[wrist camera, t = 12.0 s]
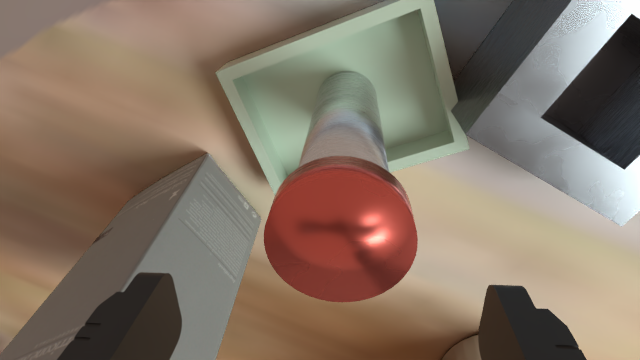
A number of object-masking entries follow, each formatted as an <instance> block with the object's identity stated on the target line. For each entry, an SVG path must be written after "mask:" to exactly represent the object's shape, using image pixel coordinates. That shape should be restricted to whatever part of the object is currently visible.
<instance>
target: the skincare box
mask: <svg viewBox="0 0 640 360" xmlns="http://www.w3.org/2000/svg"><path fill="white" fill-rule="evenodd" d="M260 222H261V217H260V216H259V215H258V214H257V213H256V211H255V210H254V209H253V207H252V206H251V205H250V204H249V203H248V201H247V200H246V199H245V198H244V197H243V196H242V194H241V193H240V192H239V191H238V190H237V188H236V187H235V186H234V185H233V184H232V182H231V181H230V180H229V178H228V177H227V176H226V175H225V174H224V172H223V171H222V170H221V169H220V168H219V166H218V165H217V164H216V162H215V161H214V159H213V158H212V157H211V155H210V154H208V153H206V154H205V155H203V156H202V157H200V158H198V159H196V160H194V161H192V162H190V163H188V164H187V165H185V166H183V167H181V168H179V169H178V170H176V171H174V172H173V173H171V174H169V175H167V176H166V177H164V178H162V179H161V180H159V181H157V182H156V183H154V184H153V185H151V186H149V187H148V188H146V189H145V190H143V191H142V192H140V193H139V194H137V195H136V196H135V197H133V198H132V199H130V200H129V201H128V202H127V203H126V204H125V206H124V207H123V208H122V209H121V210H120V211H119V213H118V214H117V215H116V216H115V217H114V219H113V220H112V221H111V222H110V224H109V225H108V226H107V227H106V228H105V230H104V231H103V232H102V233H101V234H100V236H99V237H98V238H97V239H96V240H95V241H94V243H93V244H92V245H91V246H90V248H89V249H88V250H87V251H86V252H85V254H84V255H83V256H82V257H81V258H80V260H79V261H78V262H77V263H76V264H75V266H74V267H73V268H72V269H71V270H70V271H69V273H68V274H67V275H66V276H65V277H64V279H63V280H62V281H61V282H60V283H59V285H58V286H57V287H56V288H55V289H54V291H53V292H52V293H51V294H50V295H49V297H48V298H47V299H46V300H45V301H44V303H43V304H42V305H41V306H40V307H39V309H38V310H37V311H36V312H35V313H34V315H33V316H32V317H31V318H30V319H29V321H28V322H27V323H26V324H25V325H24V327H23V328H22V329H21V330H20V331H19V333H18V334H17V335H16V336H15V337H14V339H13V340H12V341H11V342H10V343H9V345H8V346H7V347H6V348H5V349H4V350H3V352H2V353H1V354H0V360H57V359H58V357H59V356H60V355H61V353H62V352H63V351H64V350H65V348H66V347H67V346H68V344H69V343H70V342H71V341H73V340H74V337H75V335H76V334H77V333H78V331H79V330H80V329H81V327H82V326H85V322H86V321H87V320H88V318H89V317H90V316H91V314H92V313H93V312H94V310H95V309H96V308H97V307H98V306H99V305H100V304H101V303H103V302H104V301H105V300H107V299H108V298H109V297H111V296H112V295H113V294H115V293H116V292H124V291H125V290H126V288H127V287H128V286H129V284H130V283H131V281H132V280H133V279H134V277H135V276H136V275H137V274H138V273H140V272H149V273H169V274H171V276H172V278H173V281H174V285H175V290H176V294H177V298H178V303H179V307H180V312H181V316H182V329H181V335H180V338H179V341H178V343H177V345H176V347H175V350H174V352H173V354H172V356H171V358H170V360H216V357H217V354H218V351H219V348H220V345H221V342H222V339H223V336H224V332H225V329H226V326H227V323H228V320H229V317H230V314H231V311H232V308H233V305H234V301H235V298H236V295H237V292H238V289H239V286H240V283H241V280H242V277H243V274H244V271H245V268H246V265H247V262H248V259H249V256H250V252H251V249H252V246H253V243H254V240H255V237H256V234H257V231H258V228H259V225H260Z"/></svg>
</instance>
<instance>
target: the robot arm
mask: <svg viewBox="0 0 640 360" xmlns="http://www.w3.org/2000/svg"><path fill="white" fill-rule="evenodd" d="M181 329H182V316H181V312H180V307H179V303H178V298H177V294H176V290H175V285H174V281H173V278H172V276H171V274H169V273H149V272H140V273H138V274H137V275H136V276H135V277H134V279H133V280H132V281H131V283H130V284H129V286H128V287H127V288H126V290H125V291H124V292H116V293H115V294H113V295H112V296H111V297H109V298H108V299H107V300H105V301H104V302H103V303H101V304H100V305H99V306H98V307H97V308H96V309H95V310H94V312H93V313H92V314H91V316H90V317H89V318H88V320H87V321H86V322H85V326H82V327H81V329H80V330H79V331H78V333H77V334H76V335H75V337H74V340H73V341H71V342H70V343H69V344H68V346H67V347H66V348H65V350H64V351H63V352H62V353H61V355H60V356H59V357H58V359H57V360H170V358H171V356H172V354H173V352H174V350H175V347H176V345H177V343H178V341H179V338H180V335H181ZM442 360H587V359H586V358H585V356H584V354H583V353H582V351H581V350H579V348H578V344H577V342H576V341H575V339H574V337H573V336H572V334H571V332H570V331H569V329H568V327H567V326H566V325H565V324H564V323H563V322H562V321H561V320H560V319H558V318H557V317H556V316H555V315H554V314H553V313H552V312H551V311H550V310H548V309H536V308H535V306H534V304H533V302H532V300H531V298H530V297H529V295H528V293H527V291H526V289H525V288H524V287H523V286H508V285H489V286H488V288H487V292H486V296H485V301H484V306H483V311H482V316H481V321H480V326H479V333H478V335H475V336H472V337H470V338H467V339H465V340H462V341H461V342H459V343H458V344H456V345H455V346H453V347H452V348H451V349H450V350H449V351H448V352H447V353H446V354H445V356H444V357H443V359H442Z"/></svg>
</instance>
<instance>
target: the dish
mask: <svg viewBox="0 0 640 360" xmlns="http://www.w3.org/2000/svg"><path fill="white" fill-rule="evenodd" d="M341 71H354V72H358V73H360V74H362V75H364V76H365V77H367V78H368V79H369V80H370V82H371V83H372V84H373V86H374V88H375V90H376V94H377V100H378V106H379V113H380V119H381V125H382V131H383V137H384V143H385V149H386V156H387V162H388V168H389V173H390V172H394V171H397V170H400V169H404V168H407V167H410V166H414V165H417V164H421V163H424V162H427V161H431V160H434V159H438V158H441V157H444V156H448V155H451V154H455V153H458V152H461V151H465V150H468V149H469V145H468V141H467V136H466V135H465V133H464V131H463V130H462V128H461V127H460V125H459V123H458V122H457V120H456V118H455V117H454V115H453V114H452V112H451V110H452V109H453V107H454V106H455V105H456V103H457V102H458V99H457V95H456V91H455V86H454V82H453V78H452V74H451V70H450V65H449V61H448V57H447V53H446V49H445V45H444V40H443V36H442V32H441V28H440V24H439V20H438V15H437V11H436V7H435V3H434V0H385V1H383V2H380V3H378V4H375V5H372V6H370V7H367V8H365V9H362V10H360V11H357V12H355V13H352V14H350V15H347V16H344V17H342V18H339V19H337V20H334V21H332V22H329V23H327V24H324V25H322V26H319V27H316V28H314V29H311V30H309V31H306V32H304V33H301V34H299V35H296V36H294V37H291V38H288V39H286V40H283V41H281V42H278V43H276V44H273V45H271V46H268V47H265V48H263V49H260V50H258V51H255V52H253V53H250V54H248V55H245V56H243V57H240V58H237V59H235V60H232V61H230V62H227V63H226V64H225V65H224V66H223V67H221V68H220V69H219V70H218V71H216V72H215V73H216V75H217V77H218V79H219V81H220V83H221V85H222V87H223V89H224V91H225V94H226V96H227V98H228V100H229V102H230V104H231V106H232V108H233V110H234V112H235V114H236V116H237V118H238V120H239V122H240V124H241V126H242V129H243V131H244V133H245V135H246V137H247V139H248V141H249V143H250V145H251V147H252V149H253V151H254V153H255V155H256V157H257V159H258V161H259V164H260V166H261V168H262V170H263V172H264V174H265V176H266V178H267V180H268V182H269V184H270V186H271V188H272V190H273V192H274V194H275V195H276V193H277V191H278V189H279V187H280V185H281V184H282V183H283V181H284V180H285V179H286V178H287V177H288V176H289V175H290V174H291V173H292V172H293V171H295V170H296V169H297V168H298V166H299V163H300V159H301V155H302V151H303V148H304V144H305V140H306V136H307V133H308V129H309V125H310V121H311V118H312V114H313V110H314V106H315V103H316V99H317V95H318V92H319V89H320V87H321V85H322V83H323V82H324V81H325V80H326V79H327V78H328V77H329V76H331V75H333V74H335V73H337V72H341Z"/></svg>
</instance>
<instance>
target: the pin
mask: <svg viewBox="0 0 640 360" xmlns="http://www.w3.org/2000/svg"><path fill="white" fill-rule="evenodd" d="M264 245H265V251H266V254H267V257H268V259H269V261H270V263H271V265H272V267H273V268H274V270H275V271H276V272H277V274H278V275H279V276H280V277H281V278H282V279H283V280H284V281H285V282H287V283H288V284H289V285H290V286H292V287H293V288H295V289H296V290H298V291H300V292H302V293H304V294H306V295H309V296H311V297H314V298H317V299H321V300H326V301H332V302H353V301H360V300H365V299H369V298H372V297H375V296H377V295H379V294H382V293H384V292H385V291H387V290H389V289H390V288H392V287H393V286H394V285H396V284H397V283H398V282H399V281H400V280H401V279H402V278H403V277H404V276H405V275H406V273H407V272H408V271H409V269H410V267H411V265H412V264H413V261H414V258H415V256H416V251H417V231H416V227H415V222H414V218H413V213H412V209H411V205H410V202H409V198H408V196H407V194H406V192H405V190H404V188H403V187H402V185H401V184H400V183H399V181H398V180H397V179H396V178H395V177H394V176H393V175H392V174H391V173H389V168H388V162H387V156H386V149H385V143H384V137H383V131H382V125H381V119H380V113H379V106H378V100H377V94H376V90H375V88H374V86H373V84H372V83H371V82H370V80H369V79H368V78H367V77H365V76H364V75H362V74H360V73H358V72H354V71H341V72H337V73H335V74H333V75H331V76H329V77H328V78H327V79H326V80H325V81H324V82H323V83H322V85H321V87H320V89H319V92H318V95H317V99H316V103H315V106H314V110H313V114H312V118H311V121H310V125H309V129H308V133H307V136H306V140H305V144H304V148H303V151H302V155H301V159H300V163H299V166H298V168H297V169H296V170H295V171H293V172H292V173H291V174H290V175H289V176H288V177H287V178H286V179H285V180H284V181H283V183H282V184H281V185H280V187H279V189H278V191H277V193H276V195H275V198H274V201H273V204H272V207H271V210H270V213H269V216H268V219H267V222H266V225H265V231H264Z"/></svg>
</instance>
